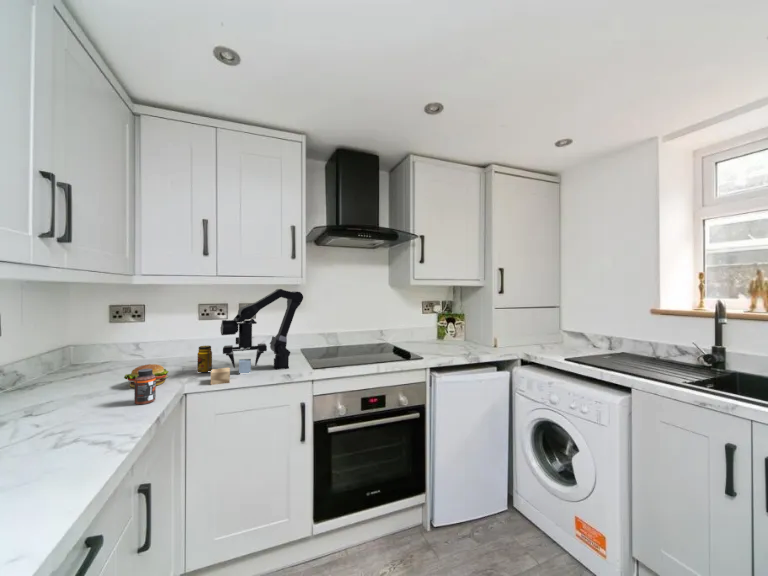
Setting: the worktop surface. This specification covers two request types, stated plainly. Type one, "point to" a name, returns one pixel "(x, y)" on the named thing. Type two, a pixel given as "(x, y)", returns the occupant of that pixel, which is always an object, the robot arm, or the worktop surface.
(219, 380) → the tan block
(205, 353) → the condiment
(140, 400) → the supplement bottle
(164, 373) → the food
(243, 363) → the blue block
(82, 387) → the worktop surface
